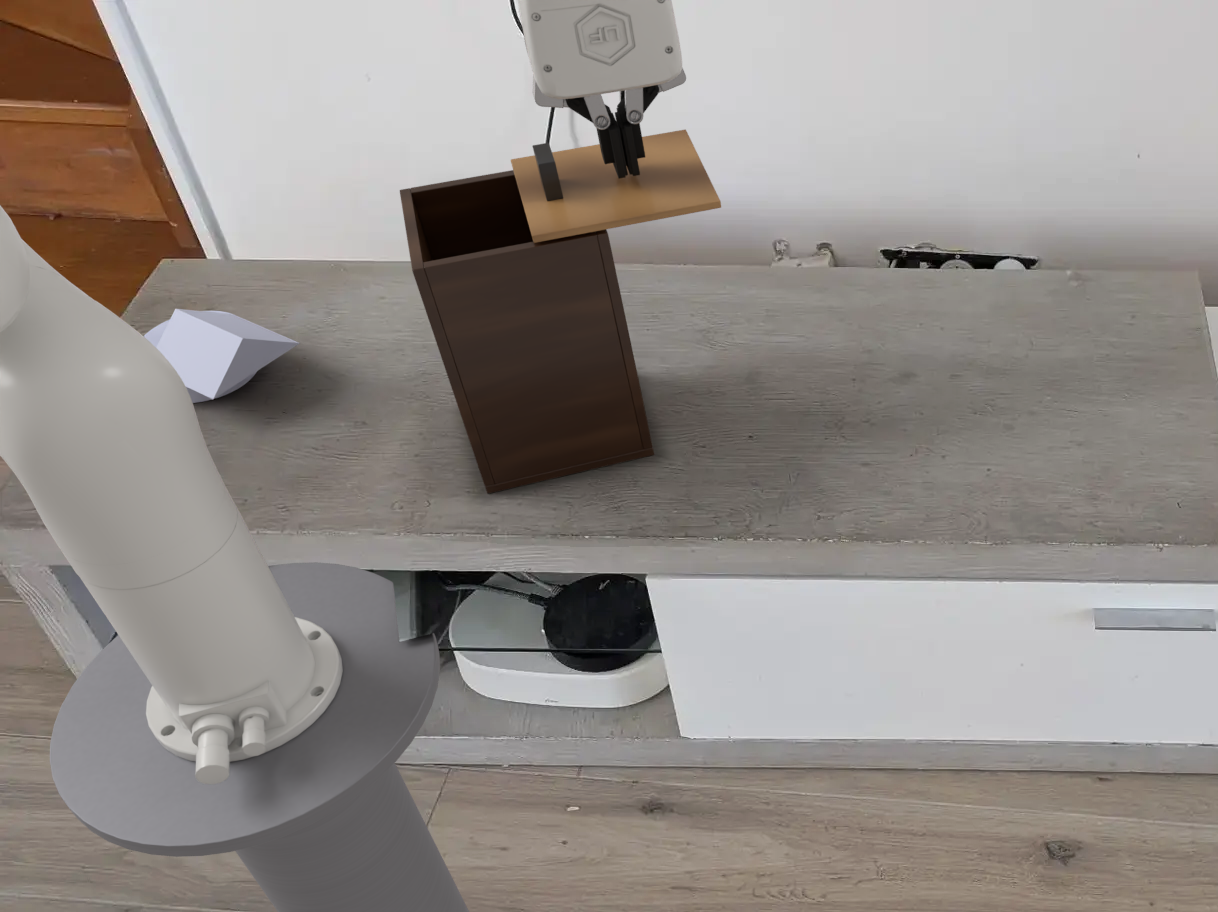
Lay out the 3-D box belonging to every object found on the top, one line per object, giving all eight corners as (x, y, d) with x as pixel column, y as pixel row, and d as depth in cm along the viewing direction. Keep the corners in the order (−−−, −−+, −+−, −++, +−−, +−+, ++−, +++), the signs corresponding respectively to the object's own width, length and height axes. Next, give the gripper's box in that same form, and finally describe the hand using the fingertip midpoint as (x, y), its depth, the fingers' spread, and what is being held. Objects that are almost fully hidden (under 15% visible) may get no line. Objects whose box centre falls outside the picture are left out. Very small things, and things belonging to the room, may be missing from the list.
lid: (721, 208, 98) (715, 163, 95) (533, 243, 94) (522, 198, 92) (686, 136, 105) (680, 93, 103) (512, 166, 102) (500, 122, 99)
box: (654, 455, 111) (608, 233, 96) (487, 494, 107) (412, 270, 92) (628, 374, 118) (581, 157, 103) (471, 409, 115) (399, 189, 100)
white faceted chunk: (313, 373, 118) (215, 330, 123) (286, 311, 113) (185, 268, 118) (228, 430, 113) (129, 382, 117) (196, 366, 108) (94, 319, 112)
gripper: (464, -52, 82) (531, 211, 95) (703, -83, 86) (736, 174, 98) (452, -94, 87) (517, 162, 100) (678, -121, 91) (712, 129, 103)
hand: (625, 167), depth 99 cm, fingers closed
